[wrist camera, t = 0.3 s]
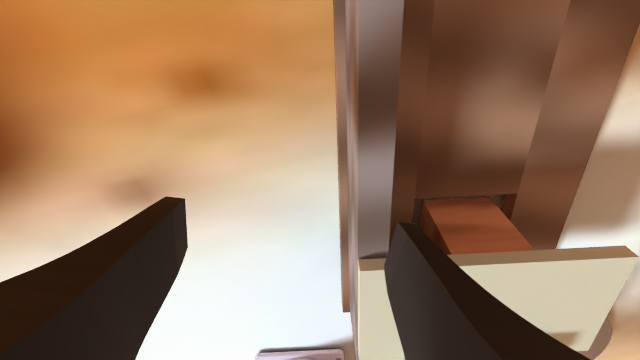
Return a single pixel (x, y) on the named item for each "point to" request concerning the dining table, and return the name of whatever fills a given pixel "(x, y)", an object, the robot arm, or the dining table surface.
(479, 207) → the block
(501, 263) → the sliding lid
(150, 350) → the dining table surface
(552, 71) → the puzzle board
